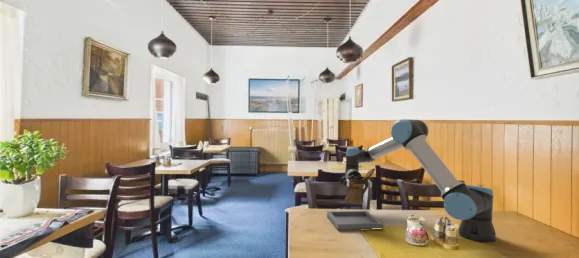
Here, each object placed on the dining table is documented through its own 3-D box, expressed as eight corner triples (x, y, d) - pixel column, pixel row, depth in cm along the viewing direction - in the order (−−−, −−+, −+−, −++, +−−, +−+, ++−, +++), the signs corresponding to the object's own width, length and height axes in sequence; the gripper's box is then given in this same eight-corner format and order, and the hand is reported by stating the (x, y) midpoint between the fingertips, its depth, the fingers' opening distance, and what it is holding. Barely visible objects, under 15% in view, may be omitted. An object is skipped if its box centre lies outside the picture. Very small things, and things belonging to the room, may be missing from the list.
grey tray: (382, 230, 155) (382, 223, 155) (337, 230, 153) (338, 224, 153) (366, 216, 177) (366, 210, 177) (327, 216, 175) (327, 211, 175)
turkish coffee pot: (373, 205, 161) (377, 170, 160) (346, 203, 161) (350, 167, 160) (368, 200, 170) (372, 166, 169) (343, 198, 170) (346, 164, 169)
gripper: (374, 184, 182) (382, 192, 160) (333, 182, 184) (336, 190, 162) (374, 170, 182) (383, 177, 160) (333, 169, 184) (336, 175, 162)
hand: (359, 184), depth 161 cm, fingers closed on turkish coffee pot, 10 cm apart
